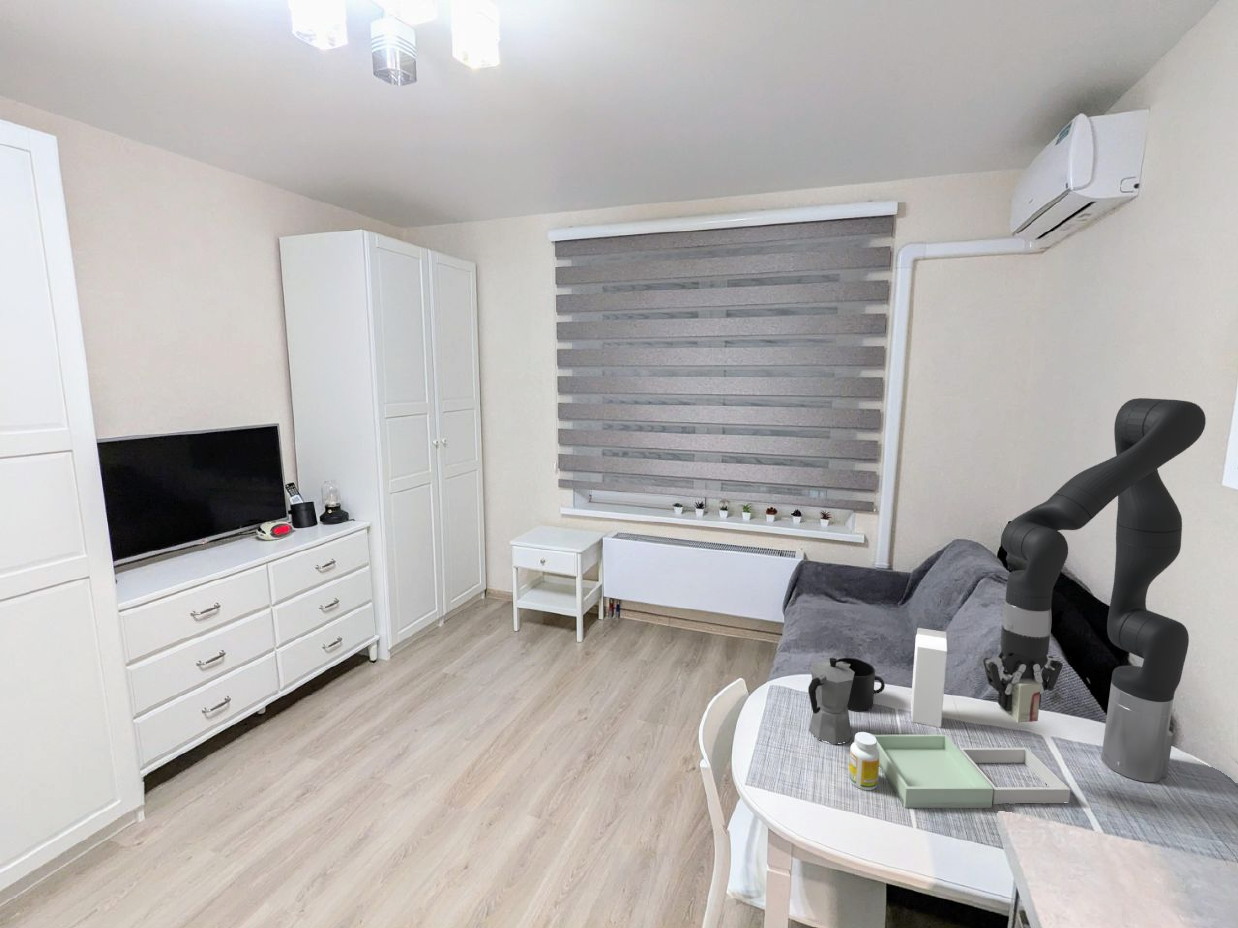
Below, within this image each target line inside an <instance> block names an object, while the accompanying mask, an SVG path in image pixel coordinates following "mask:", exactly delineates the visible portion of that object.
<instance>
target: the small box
mask: <svg viewBox="0 0 1238 928" xmlns="http://www.w3.org/2000/svg"><path fill="white" fill-rule="evenodd" d="M1009 675H1010V674H1009ZM1010 676H1011V677H1012V675H1010ZM1006 684H1007V682H1006ZM1040 687H1041V684H1040V683H1036V682H1035V681H1034V680H1032V679H1031V678H1021V679H1020V680H1019V682H1018V683H1017V684H1016V685H1014V688H1013V690H1012V692H1011V694H1012V702H1011V711H1005V710H1004V709H1003V708H1001V706H1000V705H999V707H998V709H999V710H1001V712H1003V713H1004V714H1005V715H1006V716H1008V717H1010V719H1012V720H1013V721H1014V722H1016V723H1017V724H1023V723H1030V722H1031V723H1032V722H1038V721H1039V711H1040V707H1039V699H1040Z"/></svg>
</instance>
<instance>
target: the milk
mask: <svg viewBox="0 0 1238 928" xmlns="http://www.w3.org/2000/svg"><path fill="white" fill-rule="evenodd" d="M947 635H948V633H947V632H946V631H942V630H934V629H927V628H921V627H918V628H917V629H916V635H915V640H914V641H915V642H914V643H915V644H914V645H915V646H914V655H913V670H912V672H913V673H912V685H911V686H912V687H911V696H910V714H911V722H912V723H916V724H921V725H925V726H931V727H935V728H940V729H941V728H942V721H943V720H942V718H943V706H944V695H945V693H944V692H945V682H946V681H945V680H946V672H947V660H948V658H947V657H948V644H947V643H948V641H947V637H948V636H947Z"/></svg>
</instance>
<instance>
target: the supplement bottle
mask: <svg viewBox="0 0 1238 928" xmlns="http://www.w3.org/2000/svg"><path fill="white" fill-rule="evenodd" d="M873 735H874V734H872V733H869V732H866V731H860V732H859V731H858V732H857V733H855V735H854V741H853V742H852V744H851V745H850V749H849V762H848V763H849V764H848V780H849V782H850V783H851V784H852V785H853V786H854V787H855V788H858V789H860V790H864V791H865V790H866V791H872V790H875V789H877V786H878V782H879V770H880V768H879V758H880V753H879V750H878V749H877V739H876V738H875V737H874V736H873Z"/></svg>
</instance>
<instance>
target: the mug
mask: <svg viewBox="0 0 1238 928" xmlns="http://www.w3.org/2000/svg"><path fill="white" fill-rule="evenodd" d="M837 662H846V663H848V664H851V665H850V667H849V668H850V669H851V670H853V671H854V672H855V673H854V678H853V683H852V687H851V692H850V696H849V701H848V704H847V707H848V711H853V712H854V711H855V712H864V711H868V710H870V709H872V707H873V705H874V696H875V695H877V694H880V693H882V692H883V691H884V690H885V685H886V683H885V681H884V679H883V678H881V677H880V676H877V675H876V669H875V668H874V666H873V665H872V664H871V663H869V662H867V661H865V660H862V659H859V658H853V657H843V658H842V657H841V658H838V659H837ZM837 662H836V663H837ZM875 681H878V682H879V683H880V688H878V689H875Z"/></svg>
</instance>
